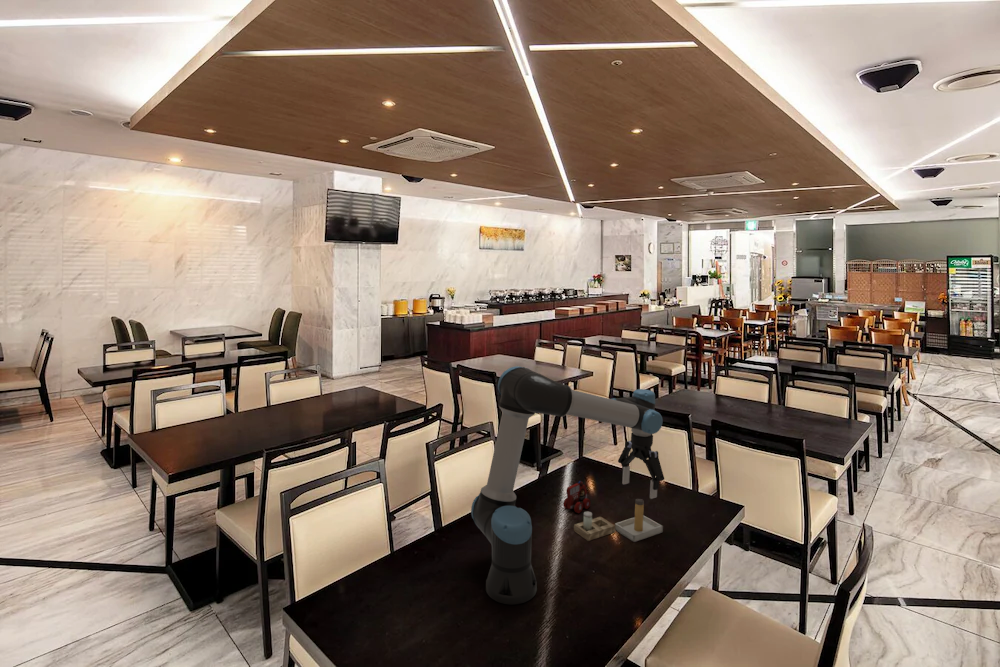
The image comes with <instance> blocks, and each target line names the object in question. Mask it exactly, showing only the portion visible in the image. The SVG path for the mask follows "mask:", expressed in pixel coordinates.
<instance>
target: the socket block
mask: <svg viewBox="0 0 1000 667" xmlns="http://www.w3.org/2000/svg"><path fill="white" fill-rule="evenodd" d="M583 524H584V521H581V522H578V523H574V525H573V531H574V532H575V533H576V534H577V535H579V536H580V537H582V539H585V540H586V541H587V542H590V541H593V540H596V539H599V538H602V537H604V536H608V535H610V534H614V533H616V530H615V524H613V523H612V522H610V521H608V520H607V519H606V518H604V517H602V516H598V517H594V518H592V530H589V531H586V530H584V529H583Z"/></svg>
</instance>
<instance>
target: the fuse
mask: <svg viewBox="0 0 1000 667" xmlns="http://www.w3.org/2000/svg"><path fill="white" fill-rule="evenodd" d="M592 519H593V512H591V511H584V512H583V522H584V524H583V529H584V530H586V531H589V530H592Z"/></svg>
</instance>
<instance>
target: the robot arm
mask: <svg viewBox="0 0 1000 667" xmlns="http://www.w3.org/2000/svg"><path fill="white" fill-rule="evenodd" d="M497 390H498V393H499V394H500V399H499V403H498V407H499V410H500V411H501V416H500V423H499V427H498V431H497V435H496V441H495V445H494V450H493V454H492V460H491V463H490V468H489V474H488V477H487V483H486V485H484V486H483V487H480V488H481V489H480V492H479V494H478V495H477V496H475V498H474V499H473V501H472V504H471V506H470V508H471V510H470V511H471V512H470V513H471V519H473V522H474V524H475V526H476V527H477V529H479V530H480V532H482V534H483V535H484V537H486V540H488V542H489V543H490V544H491V565H490V569H489V571H488V573H487V574H488V575H487V577H486V579H485V591H486V594H487V595H488V597H489V598H490V599H492V600H493V601H495V602H498V603H500V604H504V605H510V606H511V605H521V604H523V603H526V602H529V601H531V600H532V599H533V598H534V597H535V595H537V594H536V593H537V591H538V588H537V586H538V585H537V583H538V582H537V579H536V574H535V572H534V569H533V566H532V534H533V526H532V519H531V516H530V514H529V513H528V512H527V511H526V510H525V509H523V508H521V507H517V506H516V501H517V495H516V493H515V492H514V488H515V485H516V484H515V483H516V479H517V475H518V469H519V465H520V461H521V455H522V451H523V446H524V442H525V437H526V432H527V427H528V423H529V419H531V418H532V417H533V416H535V413H537V414H542V415H550V416H555V417H561V418H563V417H565V416H566V415H568V416H573V417H578V418H582V419H587V420H592V421H597V422H601V423H607V424H611V425H615V426H620V427H627V428H630V429H631V430H630V431H631V433H630V434H631V435H630V440H627V441H625V442H624V443H625V444H624V448H623V450H622V451H621V454H620V456H619V458H618V460H617V462H618V463H619V464H620V465H621V474H622V481H621V482H622V483H621V484H622V485H627V484H630V473H631V471H630V470H631V466H630V464H631V463H632V462H633V461H634V459H635V458H636V459H639V460H640V461H642V462H643V463H644V464H645V466H646V468H647V471H648V473H649V475H650V477H651V478H652V479H650V485H649V499H650V500H653V499H655V498H657V497H658V490H659V489H660V481H664V480H665V476H664V473H663V469H662V465H661V463H660V458H659V451H658V450H654V451H653V450H652V446H653V442H654V435H653V434H657V433H658V432H659V431H660V430H661V429H662V426H663V424H664V423H663V416H662V415H661V413H660V412H658V411H656V409H655V408H656V394H655V392H654V391H652V390H651V389H645V388H644V389H643V388H638V389H635V390H633V394H632V396H628V397H627V396H626V397H619V398H618V397H617V398H615V397H613V398H608V397H603V396H600V395H596V394H591V393H587V392H582V391H578V390H575V389H572V388H571V386H569V385H567V384H563V383H561V382H558V381H555V380H553V379H551V378H549V377H547V376H545V375H543V374H541V373H539V372H536V371H533V370H532V369H530V368H528V367H527V368H526V367H525V366H523V367H522V366H518V365H517V366H511V367H509V368H508V369H506V370H504V371H503V372H502V374H501V375H500V376H499V379H498V381H497Z"/></svg>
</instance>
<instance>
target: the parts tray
mask: <svg viewBox="0 0 1000 667" xmlns="http://www.w3.org/2000/svg"><path fill="white" fill-rule="evenodd" d="M634 520H635V516H634V517H631V518H628V519H625V520H622V521H618V522H616V523H614V525H615V532H617V533H619V534H620V535H622V536H624V537H625V538H627V539H628V540H630V541H631V542H633V543H636V542H638V541H641V540H644V539H647V538H650V537H653V536H657V535H659V534H661V533H663V531H664V525H662V524H660V523H658V522H656V521H654V520H653V519H651V518H649V517H647V516H645V515H644V514H643V530H642V531H635V530H634Z"/></svg>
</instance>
